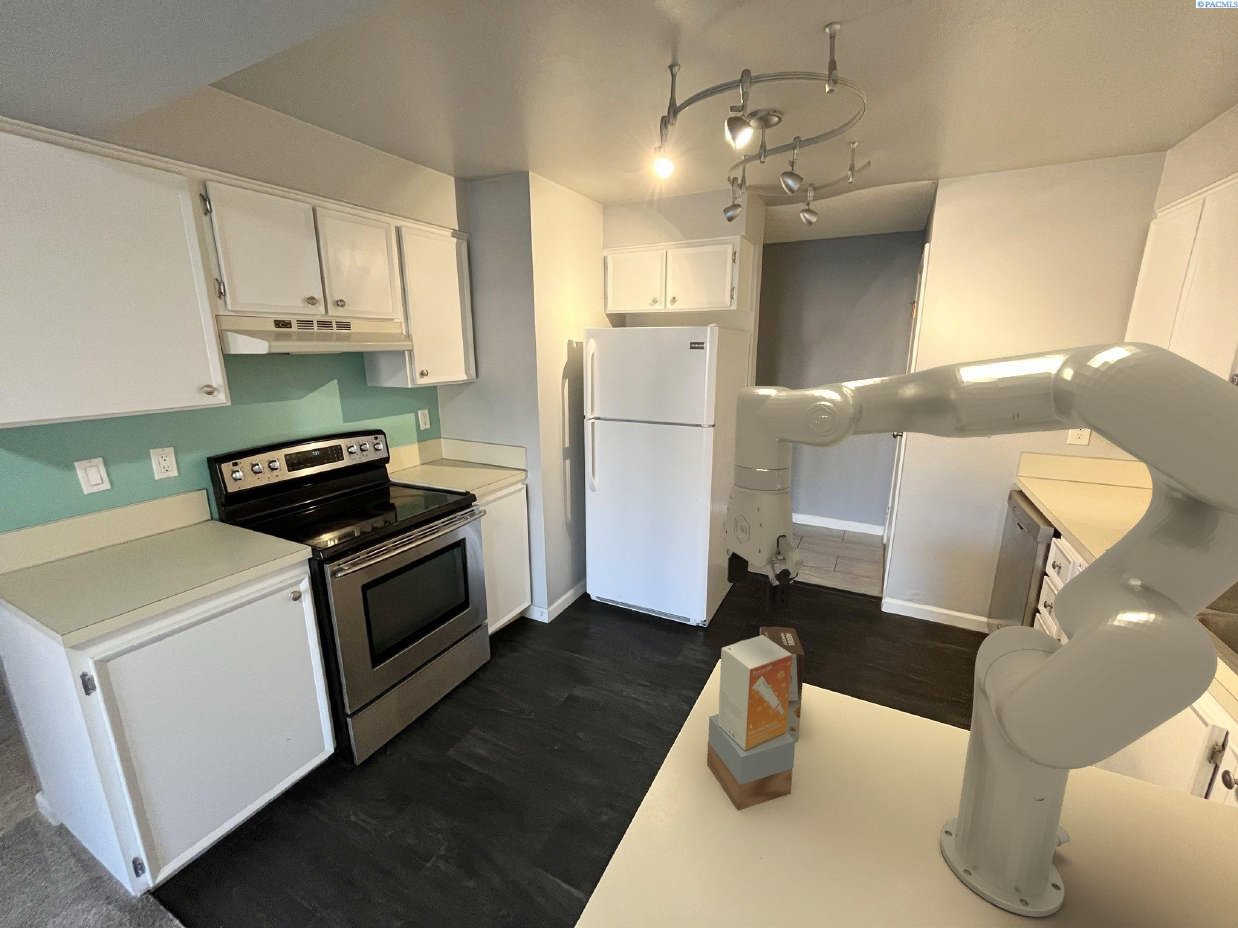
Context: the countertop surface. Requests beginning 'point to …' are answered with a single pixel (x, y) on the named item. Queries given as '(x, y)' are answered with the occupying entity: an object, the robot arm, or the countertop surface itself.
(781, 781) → the tower base block
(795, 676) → the coffee box
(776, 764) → the tower top block
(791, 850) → the countertop surface
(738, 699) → the small box
